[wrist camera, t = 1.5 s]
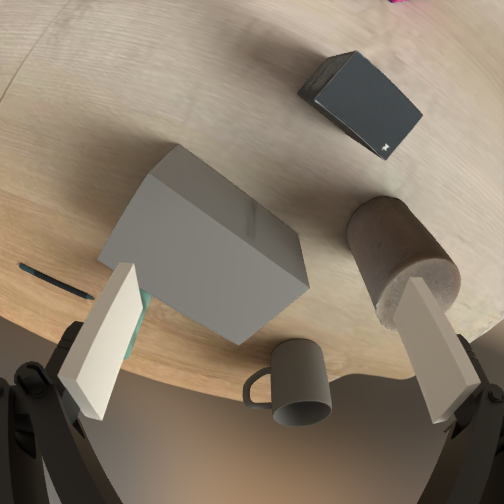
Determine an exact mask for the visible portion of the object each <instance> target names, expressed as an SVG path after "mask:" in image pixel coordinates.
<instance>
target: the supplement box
mask: <svg viewBox="0 0 504 504" xmlns="http://www.w3.org/2000/svg"><path fill="white" fill-rule="evenodd" d="M401 1H407V0H390V2H391V3H395V2H401Z"/></svg>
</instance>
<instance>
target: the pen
mask: <svg viewBox="0 0 504 504" xmlns="http://www.w3.org/2000/svg"><path fill="white" fill-rule="evenodd" d="M19 267H20V268H21V269H22V270H24V271H26V272H28V273H30V274H32V275H34V276H36V277H38V278H41V279H43V280H45V281H47V282H49V283H51V284H53V285H55V286H58V287H60V288H62V289H64V290H66V291H69V292H71V293H73V294H75V295H78V296H80V297H82V298H85V299H91V300H95V299H94V298H93V297H92V296H90V295H89V294H87V293H85V292H83V291H81V290H78V289H76V288H74V287H71V286H69V285H67V284H65V283H62V282H60V281H58V280H56V279H54V278H51V277H49V276H47V275H45V274H43V273H41V272H39V271H37V270H35V269H33V268H31V267H28V266H26V265H24V264H22V263H20V265H19Z"/></svg>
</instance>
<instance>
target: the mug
mask: <svg viewBox="0 0 504 504" xmlns="http://www.w3.org/2000/svg"><path fill="white" fill-rule="evenodd" d="M270 373H271V401H272V402H269V403H254V402H252V401H251V399H250V387H251V385H252V384H253V383H254V382H255V381H256V380H257V379H259V378H260V377H262V376H263V375H266V374H270ZM243 401H244V403H245V405H246V406H247V407H249V408H253V409H272V414H273V418H274V420H275V421H276V422H278V423H279V424H281V425H285V426H291V427H301V426H308V425H312V424H316V423H318V422H321V421H323V420H324V419H326V418H327V417H328V416H329V415H330V414H331V411H332V404H331V396H330V389H329V383H328V377H327V372H326V367H325V362H324V357H323V353H322V350H321V348H320V347H319V345H318V344H316V343H315V342H313V341H310V340H306V339H293V340H289V341H286V342H283V343H281V344H280V345H278V346H277V347H276V348H275V349H274V350H273V352H272V354H271V367H266V368H263V369H261V370H259V371H257V372H256V373H254V374H253V375H252V376H251V377H250V378H248V379H247V381H246V382H245V384H244V386H243Z"/></svg>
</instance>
